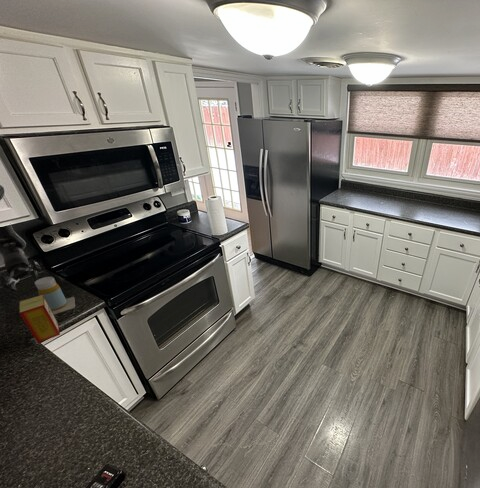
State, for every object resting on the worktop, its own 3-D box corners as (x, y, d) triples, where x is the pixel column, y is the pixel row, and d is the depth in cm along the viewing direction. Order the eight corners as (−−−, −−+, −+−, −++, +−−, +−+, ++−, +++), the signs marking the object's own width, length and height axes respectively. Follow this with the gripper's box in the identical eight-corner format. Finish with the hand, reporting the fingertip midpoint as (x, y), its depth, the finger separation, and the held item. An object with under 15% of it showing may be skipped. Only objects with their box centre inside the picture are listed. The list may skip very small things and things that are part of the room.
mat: (40, 319, 118) (39, 318, 118) (40, 307, 125) (40, 306, 125) (75, 307, 125) (75, 307, 125) (74, 297, 133) (74, 296, 132)
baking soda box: (60, 334, 110) (43, 304, 103) (38, 343, 106) (19, 312, 99) (58, 322, 116) (42, 293, 109) (37, 330, 112) (19, 300, 105)
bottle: (70, 304, 127) (58, 278, 120) (52, 313, 121) (38, 286, 114) (62, 300, 129) (49, 274, 123) (44, 308, 124) (29, 282, 117)
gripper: (-9, 269, 122) (-3, 290, 114) (25, 250, 127) (33, 269, 120) (8, 276, 128) (14, 297, 121) (40, 258, 133) (48, 277, 126)
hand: (24, 283), depth 120 cm, fingers open, 8 cm apart
